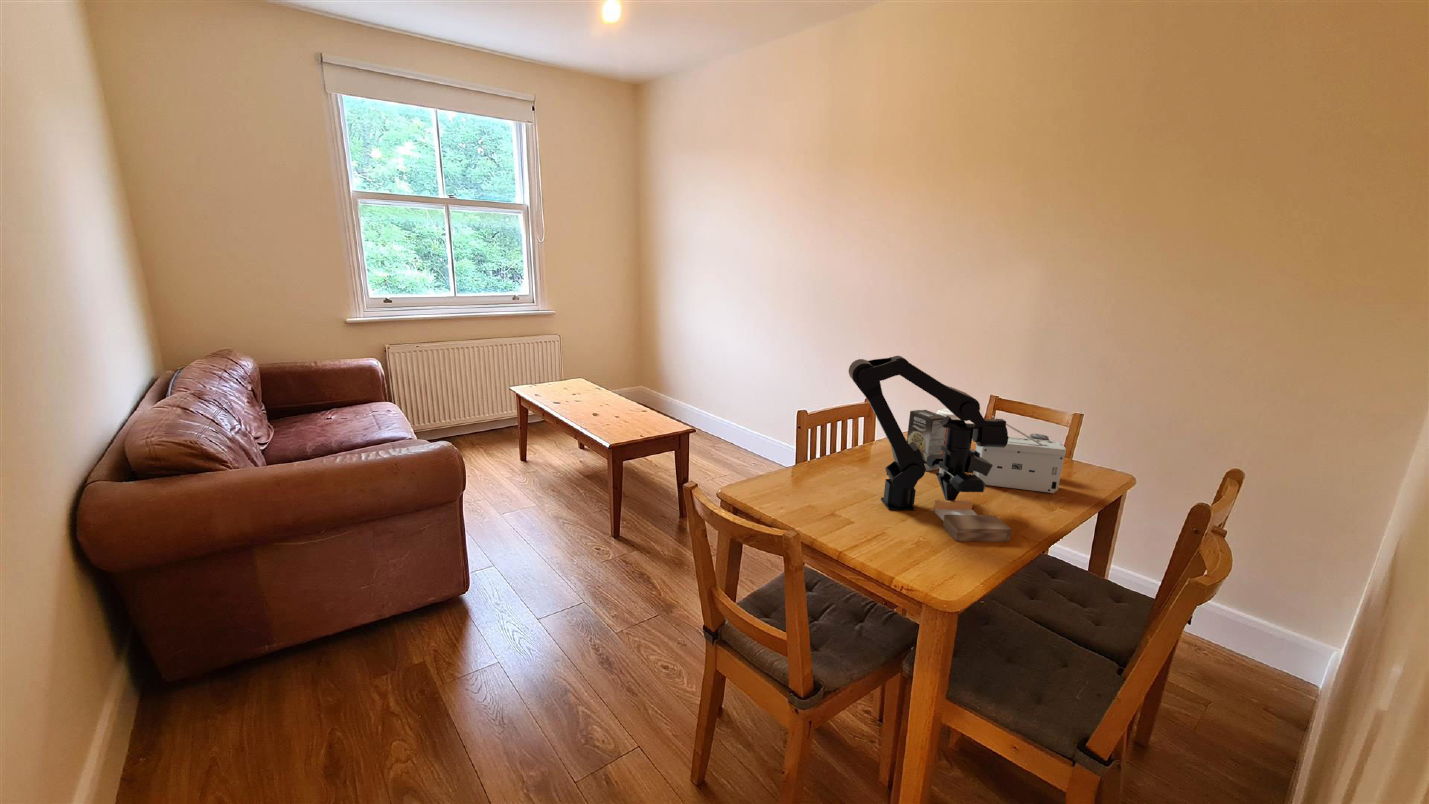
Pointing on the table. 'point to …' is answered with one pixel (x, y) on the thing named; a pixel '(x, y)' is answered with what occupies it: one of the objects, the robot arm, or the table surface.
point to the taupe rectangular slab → (976, 528)
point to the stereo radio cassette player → (1024, 464)
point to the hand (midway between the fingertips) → (949, 504)
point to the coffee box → (926, 433)
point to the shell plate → (953, 508)
